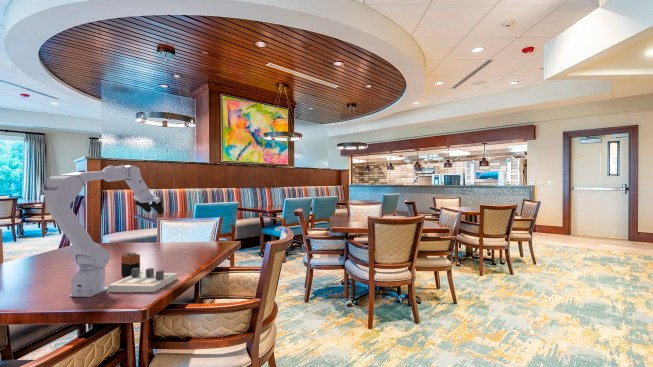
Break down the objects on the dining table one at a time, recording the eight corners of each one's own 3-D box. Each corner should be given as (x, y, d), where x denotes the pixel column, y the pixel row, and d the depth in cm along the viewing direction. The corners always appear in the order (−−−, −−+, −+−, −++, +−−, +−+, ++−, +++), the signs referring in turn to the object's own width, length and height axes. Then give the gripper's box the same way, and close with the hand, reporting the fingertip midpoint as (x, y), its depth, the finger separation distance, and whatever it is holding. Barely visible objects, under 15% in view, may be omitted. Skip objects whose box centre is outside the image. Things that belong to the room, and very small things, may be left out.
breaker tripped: (160, 279, 116) (160, 271, 116) (155, 279, 116) (155, 271, 116) (163, 277, 118) (163, 270, 118) (158, 277, 118) (158, 270, 118)
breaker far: (136, 276, 119) (136, 269, 119) (131, 276, 120) (131, 269, 120) (139, 274, 121) (139, 267, 121) (134, 274, 122) (134, 267, 122)
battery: (130, 278, 126) (130, 254, 126) (120, 275, 129) (120, 252, 130) (140, 275, 130) (140, 252, 130) (131, 273, 133) (131, 250, 133)
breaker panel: (153, 292, 109) (153, 285, 109) (108, 292, 110) (108, 284, 110) (177, 279, 125) (177, 272, 125) (137, 278, 126) (137, 272, 126)
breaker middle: (150, 276, 119) (150, 269, 119) (145, 276, 119) (145, 269, 119) (153, 275, 121) (153, 268, 121) (148, 275, 121) (148, 268, 121)
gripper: (159, 185, 130) (173, 208, 138) (135, 182, 135) (151, 204, 143) (146, 195, 125) (162, 218, 133) (123, 192, 130) (139, 214, 138)
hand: (155, 212), depth 138 cm, fingers open, 7 cm apart
